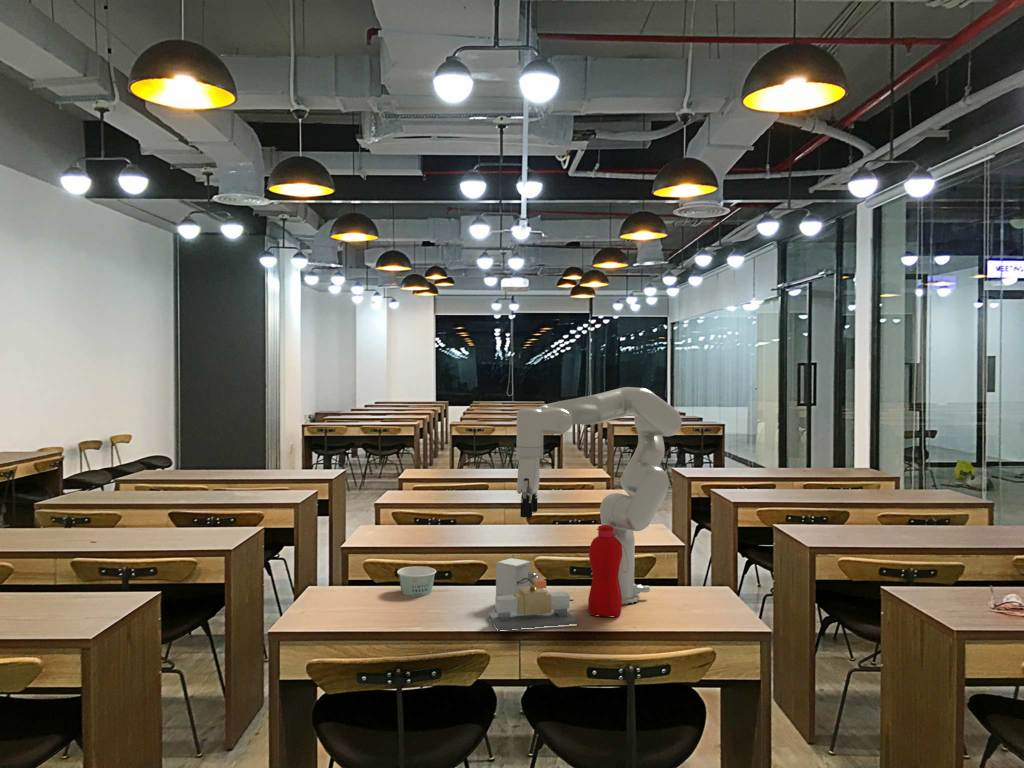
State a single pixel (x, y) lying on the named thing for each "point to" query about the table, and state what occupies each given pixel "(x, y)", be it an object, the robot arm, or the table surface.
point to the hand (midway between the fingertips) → (529, 514)
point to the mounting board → (531, 620)
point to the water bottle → (605, 573)
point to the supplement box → (511, 576)
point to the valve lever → (536, 580)
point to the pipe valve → (532, 602)
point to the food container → (416, 580)
